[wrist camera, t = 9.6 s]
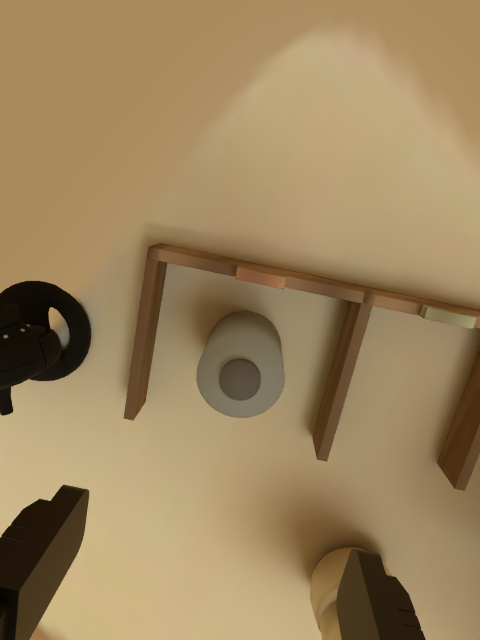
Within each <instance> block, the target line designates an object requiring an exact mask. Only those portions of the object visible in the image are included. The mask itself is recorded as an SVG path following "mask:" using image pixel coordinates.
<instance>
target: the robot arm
mask: <svg viewBox="0 0 480 640" xmlns="http://www.w3.org/2000/svg"><path fill="white" fill-rule="evenodd" d="M88 500H89V490H87V489H82V488H77V487H73V486H68V485H63V486H62V487H61V488H60V489H59V490H58V492H57V493H56V494H55V496H54V497H53V498H52V500H51V501H48V500H43V499H39V500H37V501H36V502H34V503H32V504H31V505H29V506H28V507H26V508H24V509H23V510H22V511H21V512H20V514H19V515H18V516H17V517H16V518H15V520H14V521H13V522H12V524H11V526H9V527H8V528H7V529H6V531H5V532H4V533H3V534H2V537H1V538H0V640H29V639H30V637H31V636H32V634H33V632H34V630H35V629H36V627H37V625H38V623H39V621H40V620H41V618H42V616H43V614H44V612H45V611H46V609H47V607H48V605H49V603H50V602H51V600H52V598H53V596H54V595H55V593H56V591H57V589H58V587H59V586H60V584H61V582H62V580H63V578H64V577H65V575H66V573H67V571H68V570H69V568H70V566H71V564H72V562H73V561H74V559H75V557H76V555H77V553H78V551H79V549H80V546H81V543H82V540H83V536H84V531H85V523H86V516H87V508H88ZM336 607H337V616H338V622H339V628H340V633H341V639H342V640H426V639H425V637H424V634H423V631H421V626H420V623H419V621H418V618H417V616H415V610H414V607H413V605H412V602H411V599H410V596H409V594H408V593H407V591H406V590H405V589H404V587H403V586H402V585H401V583H400V582H399V581H398V579H397V578H396V577H393V576H389V575H386V572H385V569H384V566H383V563H382V560H381V557H380V555H379V554H378V553H374V552H369V551H364V550H360V549H355V548H353V549H352V550H351V551H350V554H349V557H348V560H347V563H346V566H345V569H344V572H343V575H342V578H341V581H340V584H339V588H338V592H337V602H336Z"/></svg>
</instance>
